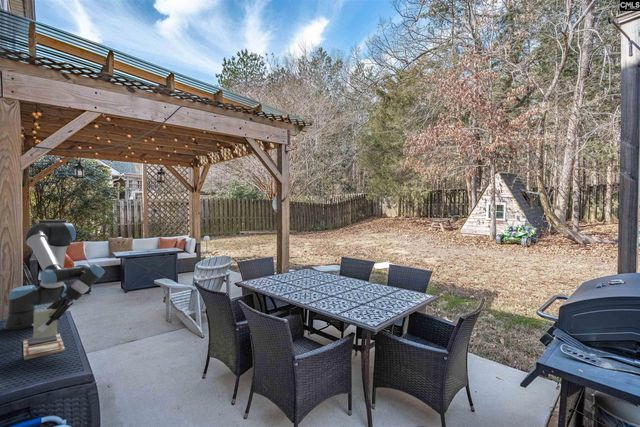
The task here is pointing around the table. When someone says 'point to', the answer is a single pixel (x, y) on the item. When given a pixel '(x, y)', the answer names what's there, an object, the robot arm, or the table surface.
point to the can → (40, 319)
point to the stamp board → (42, 346)
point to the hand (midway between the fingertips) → (36, 328)
